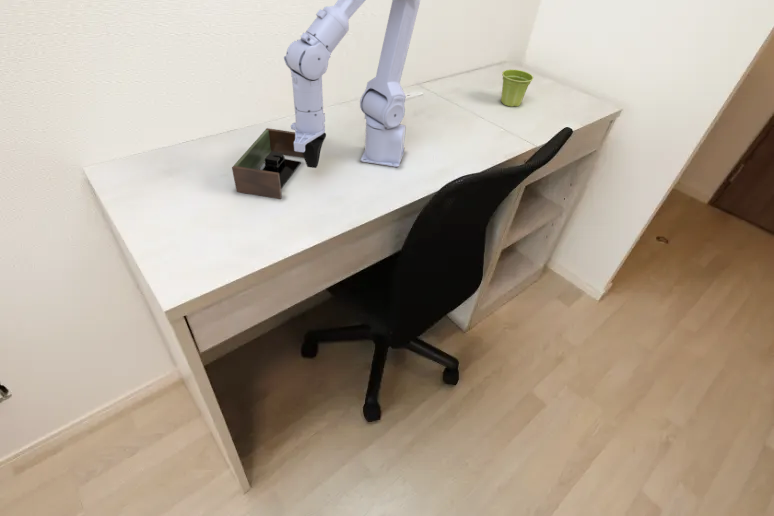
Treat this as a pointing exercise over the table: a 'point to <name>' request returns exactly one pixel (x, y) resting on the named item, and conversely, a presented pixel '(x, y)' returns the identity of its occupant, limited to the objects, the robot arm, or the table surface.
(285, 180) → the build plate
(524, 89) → the plant pot
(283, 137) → the stall
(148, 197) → the table surface
